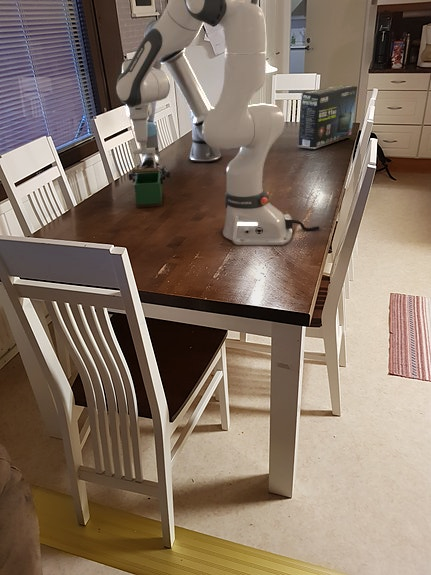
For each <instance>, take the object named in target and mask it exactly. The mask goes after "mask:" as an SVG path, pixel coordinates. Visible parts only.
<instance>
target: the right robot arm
mask: <svg viewBox="0 0 431 575" xmlns="http://www.w3.org/2000/svg"><path fill="white" fill-rule="evenodd" d="M166 4H167V5H166V7H165V8H164V11H163V12H162V14H161V16H160V17H159V19H157V20H158V22H157V23H156V25H155V26H154V27H153V28H152V29H151V30H150V31H149V32H148V33H147V35H146V36H145V37H144V36H143V39H142V41H141V42H140V44H139V46H138V48H137V49H136V51H135V53H134V54H133V57H132V58H129V59H126V60H124V61H123V62H122V65H121V73H120V74H119V76H118V78H117V80H116V84H115V90H116V91H115V92H116V95H117V97H118V99H119V100H120V101H121V103H123V104H124V106H125V110H126V117H129V120H131V124H132V128H133V132H134V137H135V140H136V143H137V144H140V148H141V150H142V151H146V142H147V130H148V129H147V122H148V120H149V116H150V115H151V114H152V106H151V102H155V101H156V102H158V101H163V100H164V99H167V97H168V96H169V93H170V90H171V83H170V79H169V76H168V75H167V73H165V71H163V70H162V69H161V70H158V69H156V68H153V65H154V64H155V63H156V62H157V61H158V60H159V59H160V58H162V57H164V56H166V55H168V54H170V53H173V52H176V51H178V50H181V49H184V48H185V49H186V48H187V47H189V46H191V44H192V43H193V42H194V41H195V40H196V38H197V37H198V35H199V33H200V31H201V29H202V27H203V25H204V24H207V25H208V26H210V27H213V28H214V27H216V26H218V25H219V26H220V27H221V28H222V31H223V34H224V74H223V85H222V89H221V92H220V96H219V97H218V100H217V102H216V103H215V105H214V108H213V110H212V111H211V112H210V113H209V114H208V115H207V116H206V118H205V119H204V122H203V126H202V133H203V137H204V140H205V141H206V143H207V144H208V145H209V146H210V147H211V148H213V149H219V150H227V151H228V150H234V149H239V150H238V152H237V154H236V155H235V157H233V158H232V159H231V160H230V161H229V162H228V163H227V165H226V169H225V177H226V178H225V179H226V180H225V181H226V182H225V183H226V190H225V194H224V205H225V209H226V210H225V218H224V219H225V220H224V226H223V229H222V235H223V237H225V239H228V240H230V241H232V243H233V244H234V245H236V246H283V245H286V244H288V243H289V242H290V240H291V239H292V237H293V224H297V225H299V226H300V228H301V229H302V230H303V231H310V232H311V231H315V230H316V231H317V230H320V226H319V225H316V226H311V227H306V226H305V225H304V223H303V222H302V221H300V220H297V219H293V218H292V216H291V215H290V214H289V213H287V214H284V213H283V212H282V211H280V210H279V209H278V208H277V207H276V206H275V205H272V204H271V203H270V202H269V194H270V192H269V191H267V192H266V191H265V190H263V178H264V177H263V176H264V167H265V162H266V159H267V156H268V154H269V152H270V150H271V148H272V147H273V145H274V144H275V142H276V141H277V140H278V139H279V138H280V137H281V135H282V134H283V132H284V130H285V125H286V124H285V115H284V113H283V111H282V110H281V108H280V107H279V106H277V105H276V104H275V105H274V104H267V103H257V104H251V105H250V102H251V100H252V99H253V97H254V95H255V94H256V93H257V92H259V90H261V89H262V87H263V86H264V84H265V82H266V69H267V68H266V66H267V29H266V20H265V14H264V11H263V10H262V8H261V7H260V6H259V5H257V4H258V0H168V2H167V3H166Z"/></svg>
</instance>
